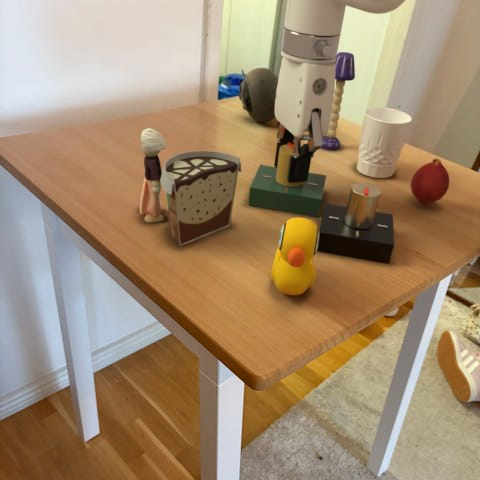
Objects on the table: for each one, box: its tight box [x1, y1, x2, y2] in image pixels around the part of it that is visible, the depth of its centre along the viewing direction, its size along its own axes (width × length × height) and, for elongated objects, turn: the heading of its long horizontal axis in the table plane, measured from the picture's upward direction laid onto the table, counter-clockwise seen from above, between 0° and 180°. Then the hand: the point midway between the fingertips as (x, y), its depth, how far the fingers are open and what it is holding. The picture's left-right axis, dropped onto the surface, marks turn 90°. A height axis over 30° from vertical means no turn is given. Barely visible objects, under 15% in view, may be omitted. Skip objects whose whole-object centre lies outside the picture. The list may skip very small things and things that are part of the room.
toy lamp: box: [320, 51, 356, 151], centre depth 99 cm, size 5×5×17 cm
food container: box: [160, 150, 243, 248], centre depth 72 cm, size 12×6×10 cm, turn 134°
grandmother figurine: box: [139, 127, 167, 224], centre depth 73 cm, size 8×4×13 cm, turn 22°
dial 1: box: [276, 142, 304, 187], centre depth 81 cm, size 4×4×5 cm
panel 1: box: [247, 164, 327, 218], centre depth 84 cm, size 11×9×3 cm
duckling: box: [270, 217, 320, 296], centre depth 62 cm, size 11×5×10 cm, turn 171°
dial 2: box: [344, 182, 382, 229], centre depth 72 cm, size 4×4×5 cm
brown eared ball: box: [238, 67, 279, 123], centre depth 109 cm, size 10×12×10 cm
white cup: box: [356, 107, 413, 179], centre depth 93 cm, size 8×8×10 cm
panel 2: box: [316, 202, 395, 264], centre depth 75 cm, size 10×9×3 cm
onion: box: [410, 157, 450, 206], centre depth 85 cm, size 6×6×8 cm
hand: (290, 172), depth 82 cm, fingers closed on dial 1, 4 cm apart
